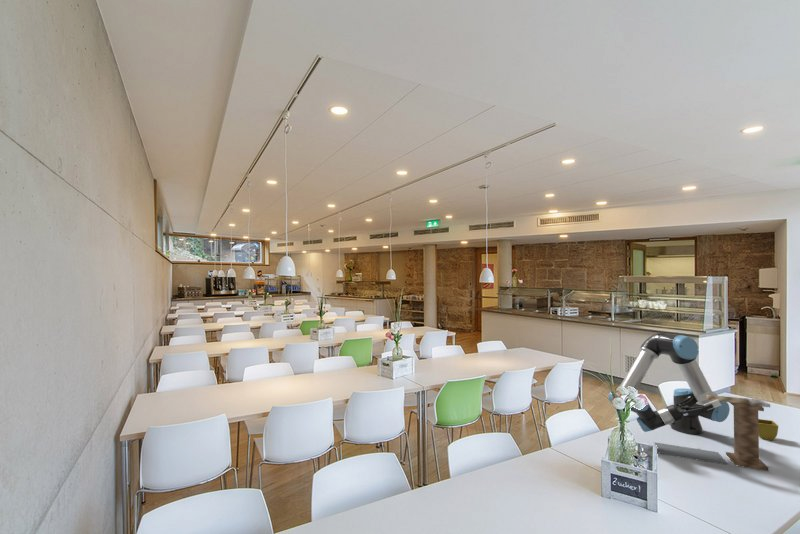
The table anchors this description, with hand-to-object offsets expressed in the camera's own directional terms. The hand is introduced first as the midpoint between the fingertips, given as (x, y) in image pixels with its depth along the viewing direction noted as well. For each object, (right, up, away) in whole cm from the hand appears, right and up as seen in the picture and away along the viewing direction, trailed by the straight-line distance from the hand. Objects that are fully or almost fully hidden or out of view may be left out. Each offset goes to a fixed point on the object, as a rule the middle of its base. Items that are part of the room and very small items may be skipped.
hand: (715, 398), depth 190 cm
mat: (-10, -29, +4) cm, 31 cm away
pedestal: (+11, -29, -5) cm, 31 cm away
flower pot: (+47, -30, +24) cm, 61 cm away
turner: (+8, -1, -3) cm, 8 cm away
